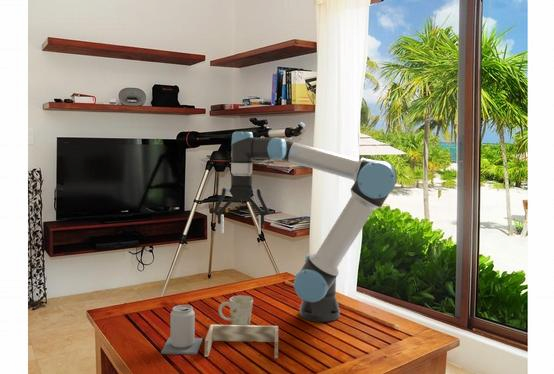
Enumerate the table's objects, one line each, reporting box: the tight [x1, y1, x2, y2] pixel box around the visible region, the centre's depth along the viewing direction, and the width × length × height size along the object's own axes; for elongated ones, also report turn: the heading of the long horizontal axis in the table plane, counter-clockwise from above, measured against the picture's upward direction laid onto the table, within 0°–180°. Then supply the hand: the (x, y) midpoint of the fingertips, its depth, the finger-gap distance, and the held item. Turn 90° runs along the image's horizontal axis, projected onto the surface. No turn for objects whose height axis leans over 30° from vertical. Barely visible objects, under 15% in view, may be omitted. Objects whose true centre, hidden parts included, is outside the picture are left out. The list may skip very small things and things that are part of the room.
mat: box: [160, 336, 204, 355], centre depth 151 cm, size 11×11×1 cm
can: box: [169, 304, 196, 349], centre depth 151 cm, size 8×8×12 cm
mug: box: [218, 295, 254, 325], centre depth 169 cm, size 8×13×10 cm, turn 78°
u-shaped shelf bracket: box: [204, 324, 279, 359], centre depth 151 cm, size 22×13×5 cm, turn 90°
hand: (240, 233), depth 174 cm, fingers open, 13 cm apart
